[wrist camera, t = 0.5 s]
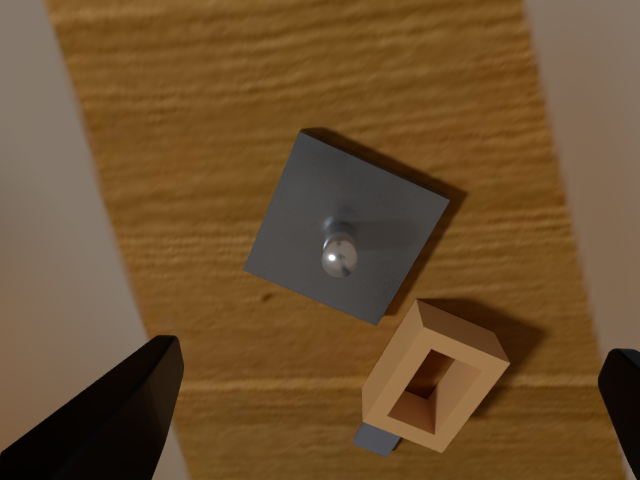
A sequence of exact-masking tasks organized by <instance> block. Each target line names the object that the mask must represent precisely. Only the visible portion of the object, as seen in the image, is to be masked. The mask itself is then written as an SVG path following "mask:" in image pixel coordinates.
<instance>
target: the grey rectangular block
mask: <svg viewBox="0 0 640 480" xmlns="http://www.w3.org/2000/svg"><path fill="white" fill-rule="evenodd" d="M400 438H401V437H400V436H397V435H395V434H392V433H390V432H387V431H385V430H382V429H380V428H377V427H375V426H372V425H370V424H367V423H365V422H363V424H362V426H361V427H360V429H359V430H358V432H357V433H356V435H355V437H354V445H357V446H359V447H362V448H364V449H367V450H370V451H372V452H375V453H377V454H380V455H382V456H385V457H387V456H388V455H389V453H390V452H391V451H392V449H393V448H394V446H395V445H396V443H397V442H398V440H399V439H400Z"/></svg>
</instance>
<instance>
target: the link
mask: <svg viewBox="0 0 640 480" xmlns="http://www.w3.org/2000/svg"><path fill="white" fill-rule="evenodd" d="M431 349H433V350H435V351H437V352H440V353H442V354H445V355H447V356H449V357H452V358H454V359H455V360H454V362H453V363H452V365H451V366H450V368H449V369H448V370H447V372H446V373H445V375H444V376H443V378H442V379H441V381H440V382H439V383H438V385H437V386H436V388H435V389H434V391H433V392H432V393H431V395H430V396H429V398H428V399H425V398H422V397H420V396H417V395H415V394H412V393H410V392H407V391H405V390H404V389H405V388H406V386H407V385H408V383H409V382H410V380H411V379H412V377H413V376H414V374H415V373H416V371H417V370H418V368H419V367H420V365H421V364H422V362H423V361H424V359H425V358H426V356H427V355H428V353H429V352H430V350H431ZM509 365H510V362H509V360H508V358H507V356H506V354H505V352H504V350H503V348H502V347H501V345H500V343H499V341H498V339H497V337H496V335H495V333H494V332H492V331H490V330H487V329H485V328H483V327H480V326H478V325H476V324H473V323H471V322H469V321H466V320H464V319H462V318H459V317H457V316H455V315H452V314H450V313H448V312H445V311H443V310H441V309H438V308H436V307H434V306H431V305H429V304H427V303H424V302H422V301H420V300H417V299H416V300H415V301H414V303H413V305H412V306H411V308H410V310H409V311H408V313H407V314H406V316H405V318H404V319H403V321H402V323H401V324H400V326H399V328H398V329H397V331H396V333H395V334H394V336H393V337H392V339H391V341H390V342H389V344H388V346H387V347H386V349H385V351H384V352H383V354H382V356H381V357H380V359H379V360H378V362H377V364H376V365H375V367H374V369H373V370H372V372H371V374H370V375H369V377H368V379H367V380H366V382H365V383H364V385H363V387H362V408H363V422H365V423H367V424H370V425H372V426H375V427H377V428H380V429H382V430H385V431H387V432H390V433H392V434H395V435H397V436H400V437H403V438H405V439H408V440H410V441H413V442H415V443H418V444H420V445H423V446H425V447H428V448H430V449H433V450H435V451H438V452H440V453H442V452H443V451H444V450H445V448H446V447H447V446H448V444H449V443H450V442H451V440H452V439H453V438H454V437H455V435H456V434H457V433H458V431H459V430H460V429H461V427H462V426H463V425H464V423H465V422H466V421H467V420H468V418H469V417H470V416H471V414H472V413H473V412H474V410H475V409H476V408H477V406H478V405H479V404H480V403H481V401H482V400H483V399H484V397H485V396H486V395H487V393H488V392H489V391H490V389H491V388H492V387H493V386H494V384H495V383H496V382H497V380H498V379H499V378H500V376H501V375H502V374H503V372H504V371H505V370H506V369H507V367H508V366H509Z"/></svg>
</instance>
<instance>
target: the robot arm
mask: <svg viewBox="0 0 640 480" xmlns="http://www.w3.org/2000/svg"><path fill="white" fill-rule="evenodd" d="M183 372H184V363H183V358H182V353H181V348H180V343H179V340H178V338H177V337H176V336H174V335H158V336H156V337H154V338H153V339H151V340H150V341H149V342H147V343H146V344H145V345H143V346H142V347H141V348H139V349H138V350H137V351H136V352H134V353H133V354H131V355H130V356H129V357H127V358H126V359H125V360H123V361H122V362H121V363H119V364H118V365H117V366H115V367H114V368H113V369H111V370H110V371H109V372H107V373H106V374H105V375H103V376H102V377H101V378H99V379H98V380H97V381H95V382H94V383H93V384H91V385H90V386H89V387H87V388H86V389H85V390H83V391H82V392H81V393H79V394H78V395H77V396H75V397H74V398H73V399H71V400H70V401H69V402H68V403H66V404H65V405H64V406H62V407H61V408H59V409H58V410H57V411H55V412H54V413H53V414H51V415H50V416H49V417H48V418H46V419H45V420H44V421H42V422H41V423H39V424H38V425H37V426H36V427H34V428H33V429H31V430H30V431H29V432H28V433H26V434H25V435H24V436H22V437H21V438H19V439H18V440H17V441H16V442H14V443H13V444H11V445H10V446H9V447H8V448H6V449H5V450H3V451H2V452H1V454H0V480H151V479H152V477H153V474H154V472H155V469H156V466H157V464H158V461H159V458H160V456H161V453H162V450H163V447H164V445H165V442H166V438H167V435H168V431H169V427H170V423H171V419H172V416H173V412H174V408H175V404H176V400H177V396H178V393H179V389H180V385H181V381H182V377H183ZM598 387H599V390H600V393H601V395H602V398H603V401H604V403H605V406H606V408H607V411H608V413H609V416H610V418H611V421H612V424H613V426H614V429H615V431H616V434H617V436H618V439H619V441H620V444H621V447H622V449H623V451H624V454H625V456H626V458H627V461H628V463H629V465H630V467H631V469H632V471H633V473H634V475H635V477H636V479H637V480H640V352H638V351H636V350H634V349H618V348H617V349H612V350H611V351H610V352H609V353H608V355H607V358H606V360H605V362H604V365H603V367H602V369H601V372H600V374H599V377H598Z"/></svg>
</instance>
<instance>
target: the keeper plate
mask: <svg viewBox="0 0 640 480" xmlns="http://www.w3.org/2000/svg"><path fill="white" fill-rule="evenodd" d="M449 202H450V199H449V198H448V196H447V195H446V194H444V193H442V192H439V191H437V190H435V189H433V188H431V187H428V186H426V185H424V184H422V183H420V182H417V181H415V180H413V179H411V178H409V177H406V176H404V175H402V174H400V173H398V172H395V171H393V170H391V169H389V168H387V167H384V166H382V165H380V164H378V163H376V162H373V161H371V160H369V159H367V158H365V157H362V156H360V155H358V154H356V153H354V152H352V151H349V150H347V149H345V148H343V147H341V146H338V145H336V144H334V143H332V142H330V141H327V140H325V139H323V138H321V137H319V136H316V135H314V134H312V133H310V132H308V131H305V130H303V129H301V130H300V132H299V134H298V136H297V139H296V141H295V144H294V146H293V149H292V151H291V154H290V156H289V159H288V161H287V163H286V166H285V168H284V171H283V173H282V176H281V178H280V181H279V183H278V185H277V188H276V190H275V193H274V195H273V198H272V200H271V203H270V205H269V207H268V210H267V212H266V215H265V217H264V220H263V222H262V225H261V227H260V229H259V232H258V234H257V237H256V239H255V242H254V244H253V247H252V249H251V252H250V254H249V256H248V259H247V261H246V264H245V266H244V269H243V270H244V271H247V272H249V273H251V274H254V275H256V276H259V277H261V278H263V279H266V280H268V281H270V282H273V283H275V284H278V285H280V286H282V287H285V288H287V289H290V290H292V291H294V292H297V293H299V294H302V295H304V296H306V297H309V298H311V299H313V300H316V301H318V302H321V303H323V304H325V305H328V306H330V307H333V308H335V309H337V310H340V311H342V312H345V313H347V314H349V315H352V316H354V317H357V318H359V319H361V320H364V321H366V322H368V323H371V324H373V325H376V326H377V325H378V323H379V322H380V320H381V318H382V316H383V315H384V313H385V311H386V310H387V308H388V306H389V304H390V303H391V301H392V299H393V298H394V296H395V294H396V292H397V291H398V289H399V287H400V286H401V284H402V282H403V280H404V279H405V277H406V275H407V274H408V272H409V270H410V268H411V267H412V265H413V263H414V262H415V260H416V258H417V256H418V255H419V253H420V251H421V250H422V248H423V246H424V244H425V243H426V241H427V239H428V238H429V236H430V234H431V232H432V231H433V229H434V227H435V226H436V224H437V222H438V220H439V219H440V217H441V215H442V214H443V212H444V210H445V209H446V207H447V205H448V203H449Z"/></svg>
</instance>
